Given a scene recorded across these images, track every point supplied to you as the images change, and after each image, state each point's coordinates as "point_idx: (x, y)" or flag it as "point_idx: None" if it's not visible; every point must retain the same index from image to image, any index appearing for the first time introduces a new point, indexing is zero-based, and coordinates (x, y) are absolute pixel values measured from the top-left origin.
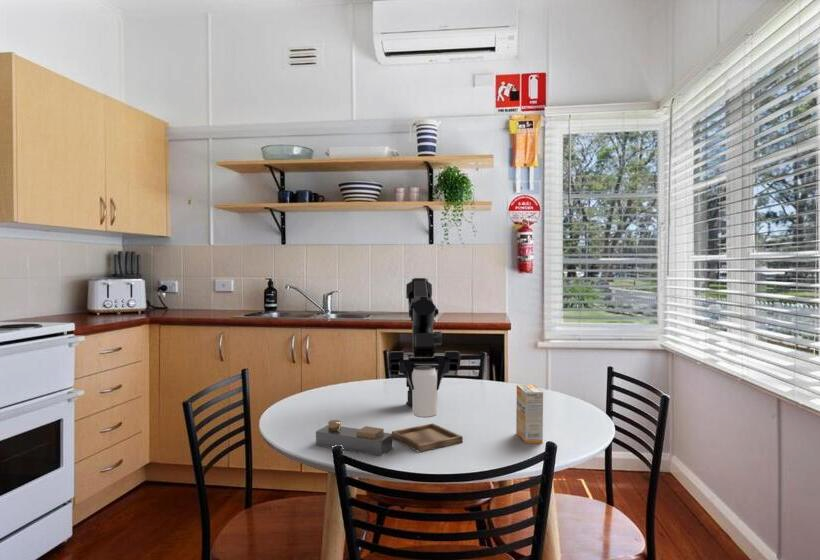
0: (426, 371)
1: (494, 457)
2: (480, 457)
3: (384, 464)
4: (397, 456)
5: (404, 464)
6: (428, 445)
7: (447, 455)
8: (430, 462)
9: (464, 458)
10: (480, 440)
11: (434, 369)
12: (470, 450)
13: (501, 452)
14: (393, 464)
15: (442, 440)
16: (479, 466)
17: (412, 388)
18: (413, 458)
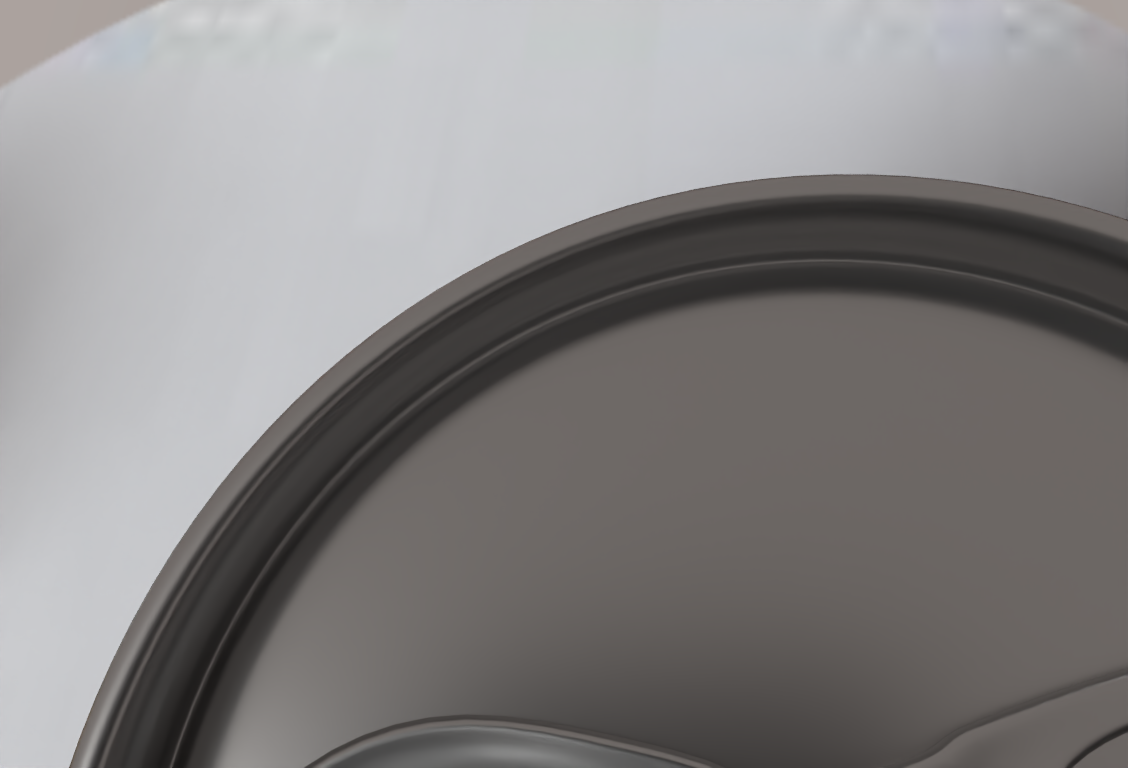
0: (736, 242)
1: (105, 189)
2: (220, 189)
3: (1077, 43)
4: None
5: (895, 44)
6: None
7: (496, 238)
8: (666, 86)
9: (361, 169)
10: (73, 650)
11: (202, 612)
12: (259, 357)
13: (2, 301)
14: (994, 43)
15: None
16: (284, 13)
17: None
18: (816, 171)
